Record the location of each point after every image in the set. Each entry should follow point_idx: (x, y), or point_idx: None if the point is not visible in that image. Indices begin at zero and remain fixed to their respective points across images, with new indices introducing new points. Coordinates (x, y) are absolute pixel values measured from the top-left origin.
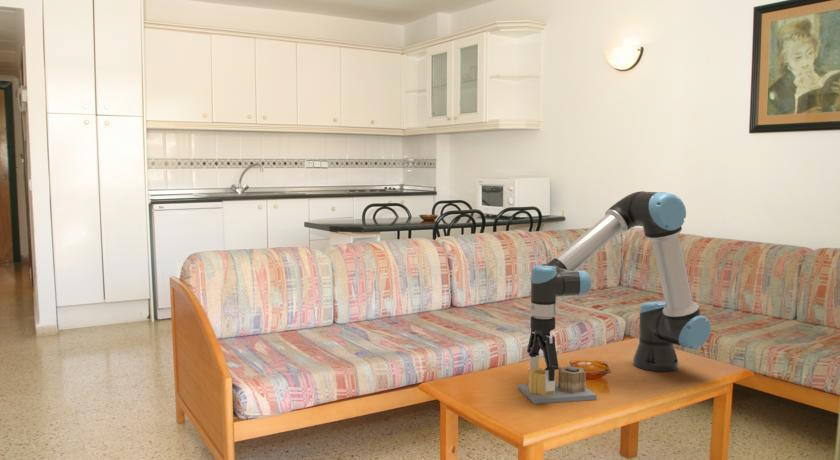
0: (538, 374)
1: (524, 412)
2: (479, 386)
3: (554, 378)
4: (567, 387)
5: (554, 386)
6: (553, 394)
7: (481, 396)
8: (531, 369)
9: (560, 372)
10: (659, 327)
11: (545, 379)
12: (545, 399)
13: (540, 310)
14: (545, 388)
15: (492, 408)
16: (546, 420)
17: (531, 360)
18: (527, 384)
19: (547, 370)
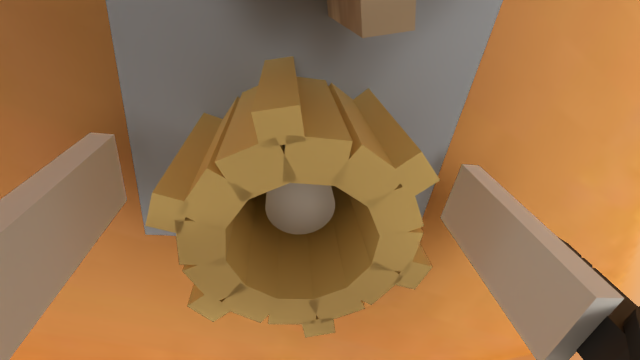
0: (370, 297)
1: (457, 285)
2: (91, 341)
3: (539, 226)
4: None
5: (496, 184)
6: (396, 117)
7: (231, 357)
8: (204, 299)
9: (370, 35)
10: None
11: (480, 276)
12: (429, 189)
13: None
14: (450, 227)
15: (367, 353)
16: (573, 247)
17: (23, 324)
18: (150, 188)
19: (565, 353)
